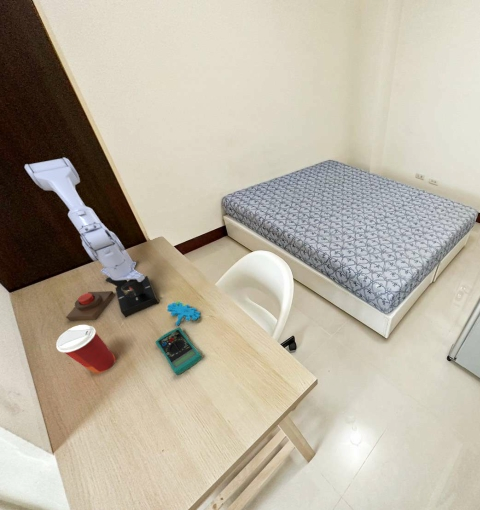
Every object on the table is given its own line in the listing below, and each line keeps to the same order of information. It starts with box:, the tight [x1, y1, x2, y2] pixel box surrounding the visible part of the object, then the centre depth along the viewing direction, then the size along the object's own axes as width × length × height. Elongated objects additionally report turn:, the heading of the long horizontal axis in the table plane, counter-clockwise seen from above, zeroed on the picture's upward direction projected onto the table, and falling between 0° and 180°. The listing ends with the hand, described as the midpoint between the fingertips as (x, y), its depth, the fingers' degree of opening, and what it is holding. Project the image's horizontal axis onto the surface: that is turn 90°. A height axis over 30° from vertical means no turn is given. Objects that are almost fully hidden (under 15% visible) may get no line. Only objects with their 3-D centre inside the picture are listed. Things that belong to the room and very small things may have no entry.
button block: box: [65, 290, 116, 322], centre depth 89 cm, size 11×8×4 cm
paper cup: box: [55, 324, 116, 374], centre depth 70 cm, size 8×8×14 cm
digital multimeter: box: [154, 327, 203, 376], centre depth 77 cm, size 7×15×3 cm, turn 48°
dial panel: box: [115, 275, 160, 318], centre depth 93 cm, size 14×10×3 cm
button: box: [77, 292, 94, 305], centre depth 87 cm, size 4×4×2 cm
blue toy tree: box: [166, 300, 201, 326], centre depth 85 cm, size 11×6×10 cm
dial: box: [121, 283, 139, 298], centre depth 91 cm, size 5×5×4 cm
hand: (134, 291), depth 92 cm, fingers closed on dial, 5 cm apart
